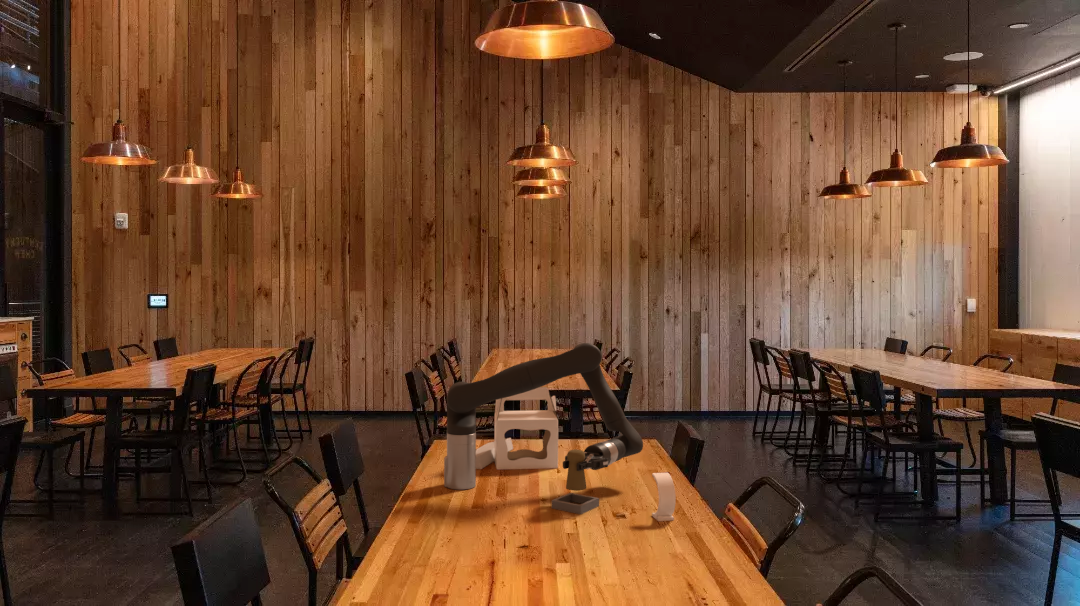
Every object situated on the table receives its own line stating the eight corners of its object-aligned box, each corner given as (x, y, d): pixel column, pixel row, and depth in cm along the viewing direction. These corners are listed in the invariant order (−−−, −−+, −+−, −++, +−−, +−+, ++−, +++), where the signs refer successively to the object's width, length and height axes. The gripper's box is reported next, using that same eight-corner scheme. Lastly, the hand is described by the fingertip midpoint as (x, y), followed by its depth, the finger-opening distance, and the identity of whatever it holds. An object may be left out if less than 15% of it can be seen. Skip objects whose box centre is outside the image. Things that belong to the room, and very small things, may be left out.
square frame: (551, 508, 214) (551, 500, 214) (570, 500, 222) (570, 492, 222) (580, 514, 208) (581, 506, 208) (599, 505, 216) (599, 498, 216)
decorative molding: (456, 475, 263) (482, 469, 260) (453, 461, 263) (478, 456, 260) (490, 454, 295) (513, 449, 292) (487, 442, 296) (510, 437, 293)
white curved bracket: (667, 514, 208) (667, 472, 208) (675, 521, 202) (675, 477, 202) (651, 515, 207) (652, 473, 207) (659, 522, 201) (660, 478, 201)
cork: (564, 485, 218) (564, 448, 218) (584, 484, 218) (584, 447, 218) (567, 491, 212) (566, 452, 212) (588, 490, 212) (587, 452, 212)
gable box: (553, 459, 275) (553, 384, 274) (558, 468, 262) (559, 389, 261) (493, 461, 272) (493, 385, 272) (495, 469, 259) (496, 390, 259)
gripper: (581, 439, 231) (550, 450, 217) (621, 445, 222) (592, 456, 208) (581, 463, 231) (550, 475, 217) (621, 470, 223) (592, 483, 209)
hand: (571, 466), depth 213 cm, fingers closed on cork, 4 cm apart
